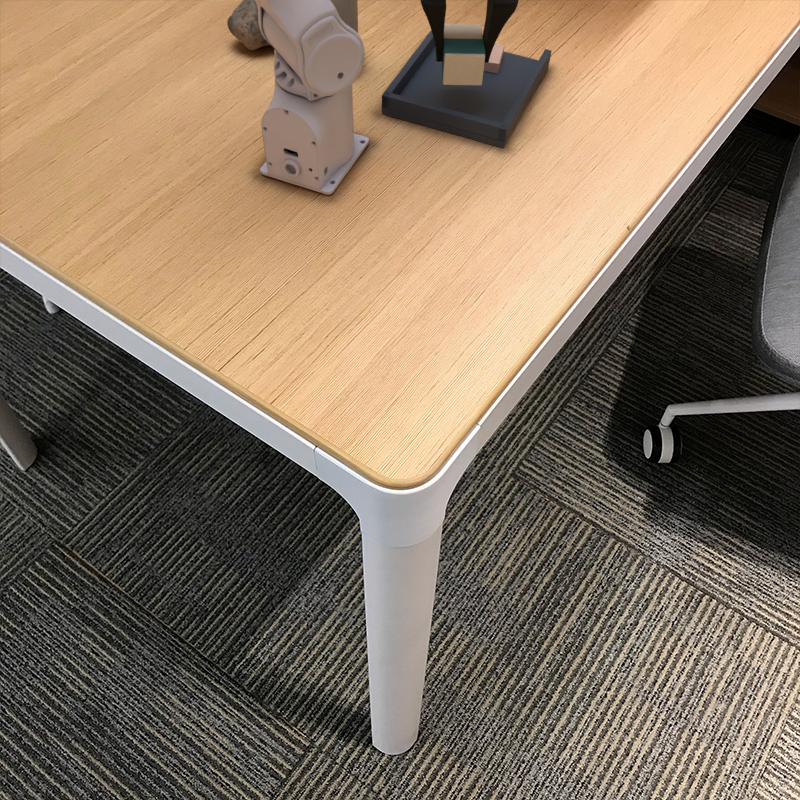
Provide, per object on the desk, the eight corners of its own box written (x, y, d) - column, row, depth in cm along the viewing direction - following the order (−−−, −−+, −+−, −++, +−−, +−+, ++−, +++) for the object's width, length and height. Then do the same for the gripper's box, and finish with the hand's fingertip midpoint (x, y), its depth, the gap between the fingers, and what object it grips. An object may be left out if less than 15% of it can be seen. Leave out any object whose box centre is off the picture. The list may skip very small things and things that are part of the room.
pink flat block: (497, 73, 87) (499, 63, 86) (463, 68, 87) (464, 58, 86) (503, 54, 89) (504, 44, 88) (469, 49, 89) (470, 39, 88)
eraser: (478, 53, 82) (481, 23, 79) (482, 86, 79) (485, 56, 76) (440, 52, 82) (442, 22, 79) (442, 85, 79) (444, 55, 76)
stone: (328, 42, 92) (292, -22, 90) (333, 28, 87) (295, -40, 85) (258, 84, 92) (220, 21, 90) (259, 73, 86) (218, 5, 84)
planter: (314, 59, 89) (307, -33, 80) (351, 52, 90) (348, -39, 81) (326, 81, 86) (320, -12, 78) (364, 74, 87) (362, -18, 79)
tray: (503, 148, 80) (506, 129, 78) (381, 113, 83) (381, 94, 81) (548, 69, 89) (551, 50, 87) (435, 40, 92) (437, 21, 90)
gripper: (393, -68, 66) (391, 77, 77) (562, -64, 66) (535, 80, 77) (393, -105, 70) (391, 38, 81) (552, -101, 70) (528, 41, 81)
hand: (461, 56), depth 79 cm, fingers closed on eraser, 4 cm apart
